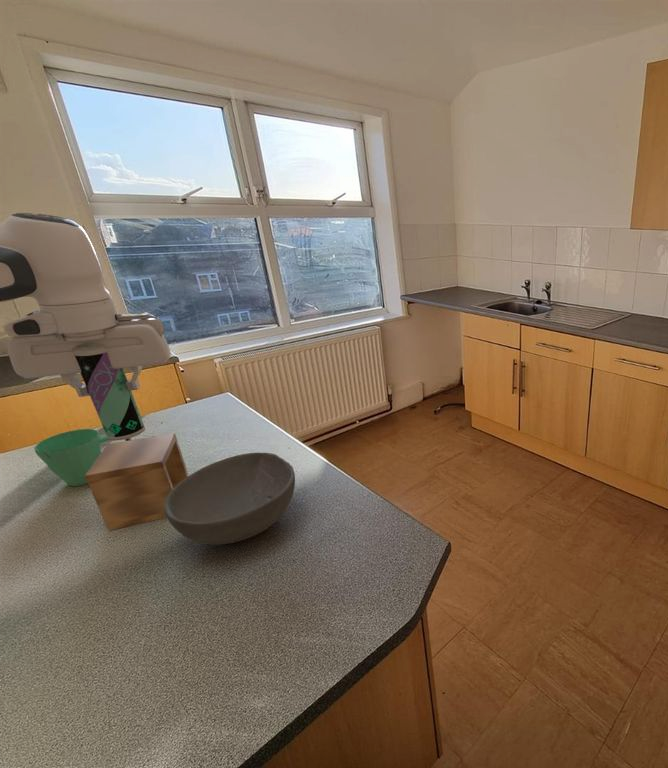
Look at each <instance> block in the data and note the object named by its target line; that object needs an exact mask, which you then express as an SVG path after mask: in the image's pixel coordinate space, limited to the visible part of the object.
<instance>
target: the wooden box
mask: <svg viewBox="0 0 668 768" xmlns="http://www.w3.org/2000/svg"><path fill="white" fill-rule="evenodd" d="M188 476H189V472H188V469H187V466H186V463H185V459H184V455H183V453H182V449H181V447H180V445H179V441H178V438H177V434H176V432H171V433H165V434H160V435H154V436H153V435H152V436H148V437H142V438H135V439H131V440H129V441H125V440H122V441H118V442H117V441H116V442H112V443H111V442H110V443H107V444H106V445H105V447H104V448H103V449H102V450H101V454H100V455H99V456H98V458H97V459H96V461H95V462H94V463H93V465H92V466H91V468H90V469H89V470H88V472H87V473H86V475H85V478H86V480H87V482H88V484H87V485H88V487H89V489H90V491H91V494H92V496H93V499H94V501H95V503H96V505H97V507H98V510H99V512H100V515H101V517H102V519H103V522H104V524H105V525H106V528H107V531H113V530H118V529H122V528H126V527H130V526H131V527H132V526H135V525H140V524H143V523H147V522H152V521H156V520H161V519H164V518H167V517H166V515H165V512H164V502H165V500H166V498H167V496H168V494H169V493H170V492H171V491H172V489H173V488H174V487H175V486H176V485H177V484H179V483H180V482H181V481H182V480H184V479H185V478H187V477H188Z"/></svg>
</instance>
